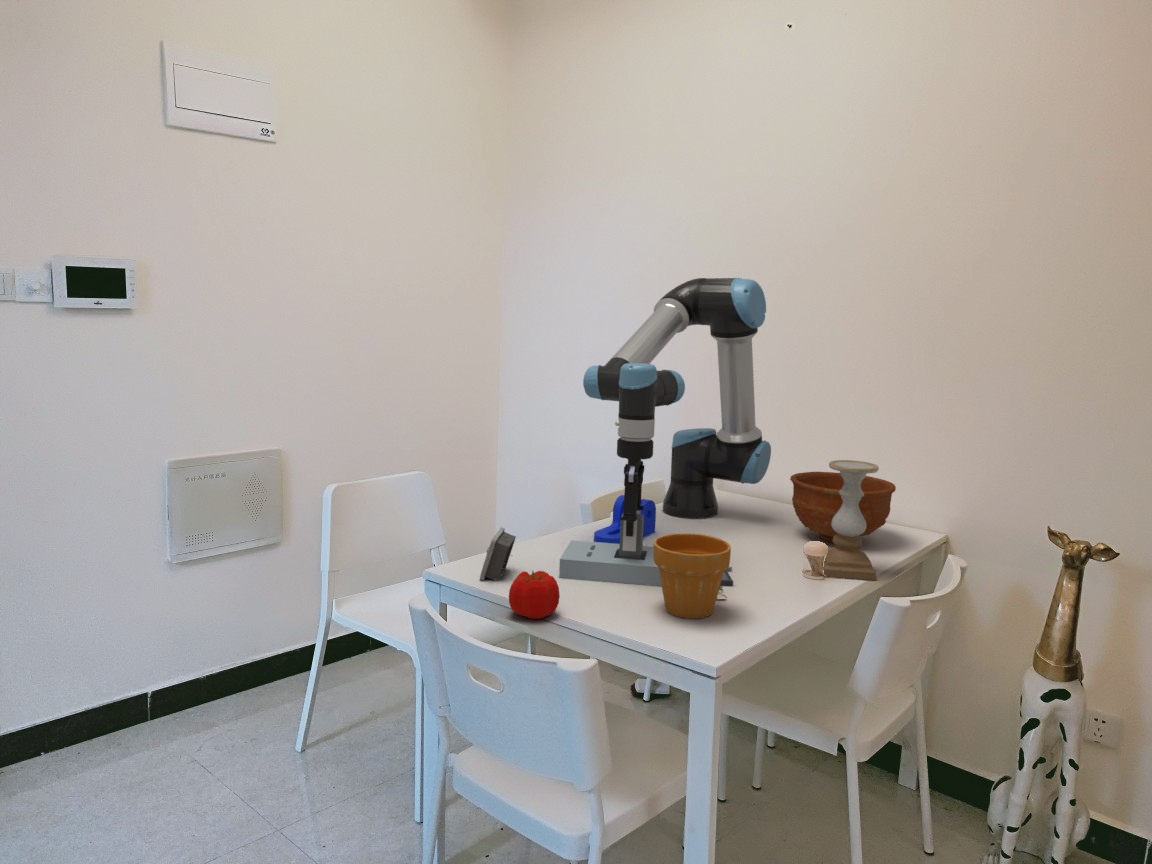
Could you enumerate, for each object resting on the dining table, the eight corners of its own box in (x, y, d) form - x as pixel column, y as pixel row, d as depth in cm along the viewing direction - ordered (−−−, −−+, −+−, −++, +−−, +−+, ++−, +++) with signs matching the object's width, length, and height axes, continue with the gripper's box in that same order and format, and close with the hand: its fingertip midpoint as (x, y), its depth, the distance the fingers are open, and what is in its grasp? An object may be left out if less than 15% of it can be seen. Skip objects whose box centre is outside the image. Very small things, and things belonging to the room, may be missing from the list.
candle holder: (822, 577, 177) (831, 467, 173) (815, 561, 188) (823, 458, 184) (876, 581, 176) (886, 470, 172) (865, 565, 186) (874, 460, 183)
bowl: (782, 546, 199) (786, 485, 197) (790, 521, 222) (794, 466, 220) (892, 559, 191) (897, 496, 189) (888, 532, 215) (893, 475, 212)
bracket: (626, 527, 213) (628, 492, 211) (655, 533, 208) (656, 498, 206) (587, 542, 198) (588, 505, 197) (616, 549, 193) (617, 511, 192)
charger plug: (620, 566, 179) (622, 512, 177) (641, 568, 178) (644, 513, 176) (618, 573, 174) (620, 517, 173) (639, 575, 174) (642, 518, 172)
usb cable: (663, 562, 184) (663, 558, 184) (664, 561, 185) (664, 557, 185) (731, 571, 179) (731, 567, 179) (731, 570, 180) (732, 566, 180)
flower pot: (635, 608, 156) (638, 541, 154) (682, 591, 166) (685, 528, 164) (695, 631, 146) (699, 560, 144) (741, 611, 156) (746, 544, 154)
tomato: (544, 602, 157) (545, 564, 156) (566, 618, 150) (567, 579, 149) (499, 610, 153) (499, 571, 152) (519, 627, 145) (520, 586, 144)
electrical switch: (488, 566, 178) (493, 525, 176) (512, 570, 177) (517, 529, 175) (478, 581, 168) (483, 537, 167) (503, 585, 168) (508, 541, 166)
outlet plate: (570, 557, 185) (571, 539, 185) (669, 565, 182) (670, 546, 181) (559, 577, 172) (559, 558, 171) (665, 586, 168) (666, 566, 168)
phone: (660, 573, 176) (661, 568, 176) (726, 574, 177) (726, 569, 177) (664, 584, 170) (664, 579, 169) (732, 586, 170) (733, 580, 170)
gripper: (622, 430, 182) (618, 531, 186) (611, 445, 163) (607, 557, 166) (656, 432, 181) (652, 533, 184) (649, 447, 161) (644, 560, 165)
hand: (631, 545), depth 175 cm, fingers open, 7 cm apart
